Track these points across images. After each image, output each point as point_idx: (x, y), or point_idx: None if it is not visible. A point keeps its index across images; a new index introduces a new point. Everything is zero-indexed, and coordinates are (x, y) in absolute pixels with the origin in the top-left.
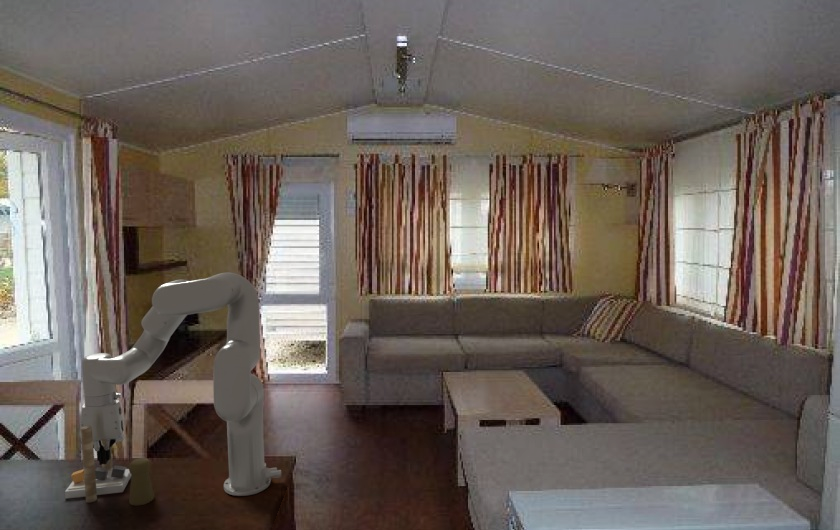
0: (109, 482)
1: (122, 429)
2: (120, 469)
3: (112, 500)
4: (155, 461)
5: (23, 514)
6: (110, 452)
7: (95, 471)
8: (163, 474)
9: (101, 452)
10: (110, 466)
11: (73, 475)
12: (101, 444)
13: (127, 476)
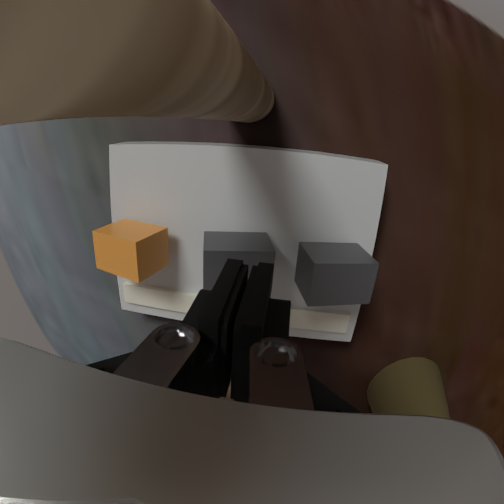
0: (292, 312)
1: (487, 439)
2: (349, 302)
3: (312, 367)
4: (463, 47)
5: (68, 338)
6: (289, 321)
7: (207, 289)
8: (499, 217)
9: (225, 395)
10: (262, 111)
11: (106, 270)
12: (191, 365)
13: (371, 253)
